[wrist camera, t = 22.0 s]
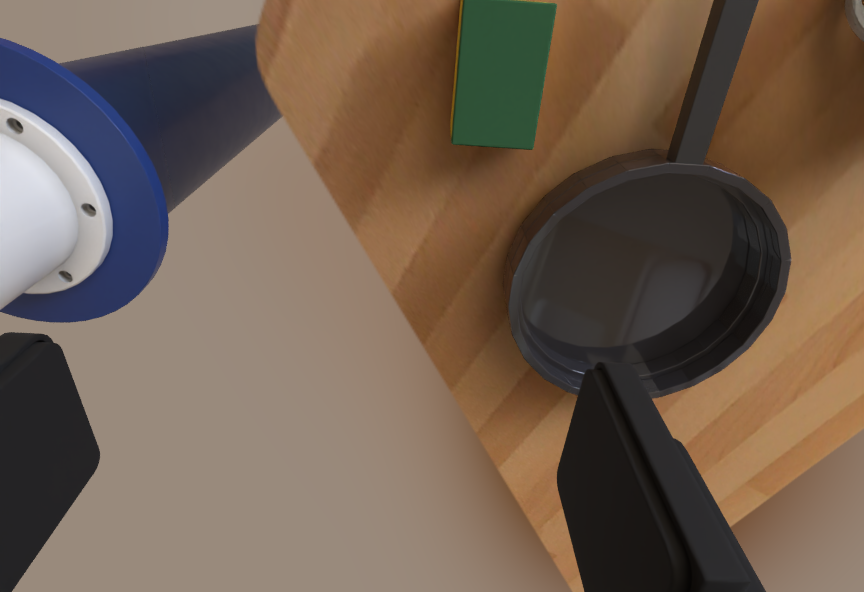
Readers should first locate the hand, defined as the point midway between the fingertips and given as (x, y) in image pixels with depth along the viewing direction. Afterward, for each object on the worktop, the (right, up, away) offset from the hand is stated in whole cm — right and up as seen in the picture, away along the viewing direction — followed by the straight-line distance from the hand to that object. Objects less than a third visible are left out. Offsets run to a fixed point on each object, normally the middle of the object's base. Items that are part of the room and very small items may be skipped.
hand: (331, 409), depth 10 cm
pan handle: (+16, +15, +17) cm, 28 cm away
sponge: (+5, +15, +19) cm, 25 cm away
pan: (+15, +4, +26) cm, 30 cm away
